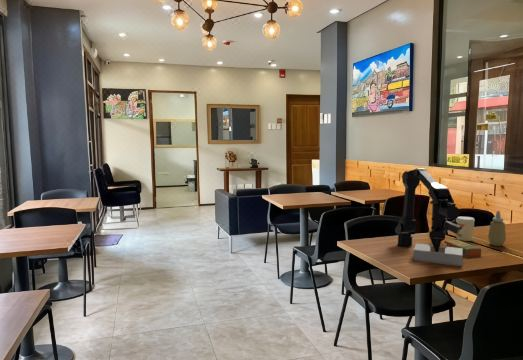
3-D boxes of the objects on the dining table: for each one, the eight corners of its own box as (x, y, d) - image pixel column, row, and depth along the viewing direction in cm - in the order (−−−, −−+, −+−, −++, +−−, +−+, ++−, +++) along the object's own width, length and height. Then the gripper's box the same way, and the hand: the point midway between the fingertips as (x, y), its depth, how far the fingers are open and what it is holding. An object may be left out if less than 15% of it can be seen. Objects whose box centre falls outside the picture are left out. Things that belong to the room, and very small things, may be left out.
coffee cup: (452, 237, 221) (452, 216, 220) (468, 237, 221) (469, 216, 220) (459, 241, 212) (460, 219, 211) (477, 241, 212) (478, 219, 210)
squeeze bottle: (507, 247, 199) (509, 212, 197) (489, 246, 202) (491, 212, 200) (503, 243, 207) (505, 210, 205) (486, 242, 209) (487, 209, 207)
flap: (413, 250, 179) (413, 240, 178) (416, 244, 189) (416, 235, 189) (462, 256, 169) (462, 245, 169) (462, 249, 180) (462, 239, 180)
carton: (458, 247, 201) (458, 239, 200) (481, 256, 185) (481, 248, 185) (443, 248, 199) (444, 240, 199) (466, 257, 183) (466, 249, 183)
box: (413, 260, 179) (413, 250, 179) (416, 253, 190) (416, 244, 189) (461, 266, 170) (462, 256, 170) (462, 258, 181) (462, 249, 180)
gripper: (458, 220, 161) (457, 257, 163) (459, 213, 178) (457, 246, 179) (429, 218, 166) (428, 253, 168) (432, 211, 183) (431, 243, 185)
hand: (437, 249), depth 175 cm, fingers open, 9 cm apart
